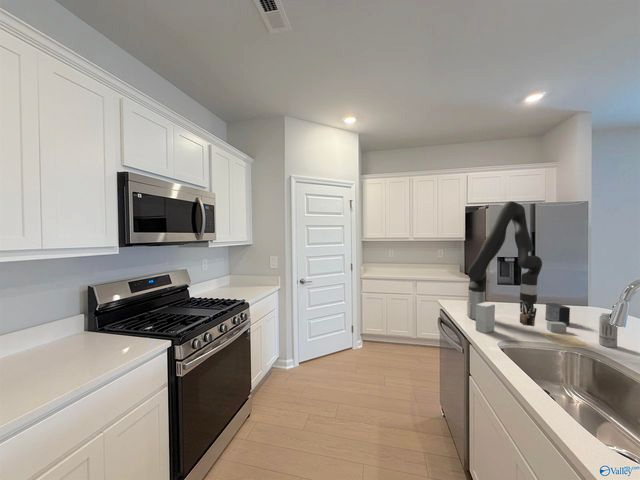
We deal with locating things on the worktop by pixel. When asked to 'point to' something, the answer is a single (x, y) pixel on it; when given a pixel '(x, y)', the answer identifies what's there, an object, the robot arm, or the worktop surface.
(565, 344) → the letter
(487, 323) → the skincare box
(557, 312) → the small box
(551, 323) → the grey block
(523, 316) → the walnut cube
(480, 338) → the worktop surface
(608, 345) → the energy drink can
